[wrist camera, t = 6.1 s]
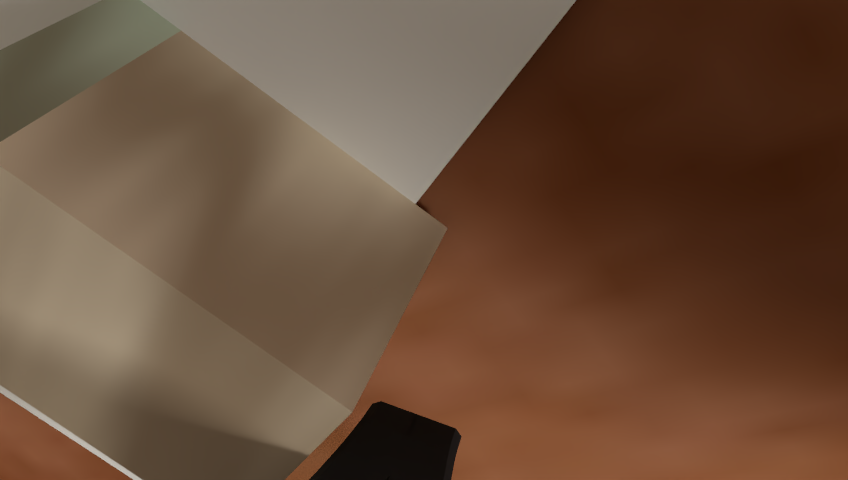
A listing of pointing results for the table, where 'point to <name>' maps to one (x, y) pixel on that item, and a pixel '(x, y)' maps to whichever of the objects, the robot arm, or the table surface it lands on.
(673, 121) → the table surface
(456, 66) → the mat
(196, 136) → the tan and green sponge
